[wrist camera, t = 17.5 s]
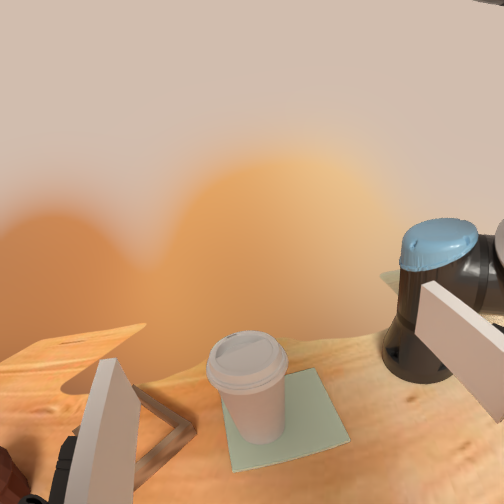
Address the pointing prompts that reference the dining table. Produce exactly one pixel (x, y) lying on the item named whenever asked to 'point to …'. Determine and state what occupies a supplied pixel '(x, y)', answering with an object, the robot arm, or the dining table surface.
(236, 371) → the coffee cup
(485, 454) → the dining table surface
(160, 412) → the square tray
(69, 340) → the dining table surface
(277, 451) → the mat
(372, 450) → the dining table surface
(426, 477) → the dining table surface
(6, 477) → the muffin
